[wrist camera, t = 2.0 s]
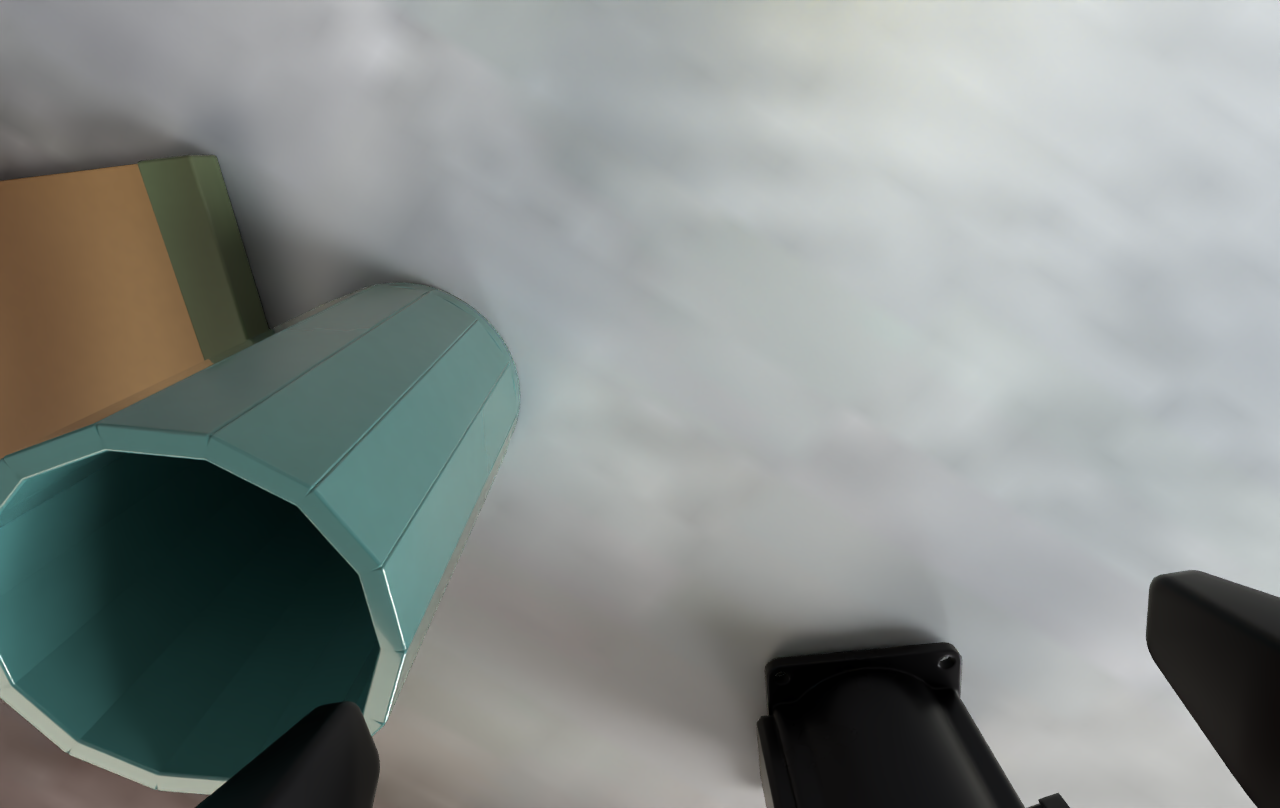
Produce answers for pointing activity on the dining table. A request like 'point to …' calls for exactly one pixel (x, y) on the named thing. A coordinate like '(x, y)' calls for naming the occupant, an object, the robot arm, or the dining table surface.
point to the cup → (250, 536)
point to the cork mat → (114, 287)
